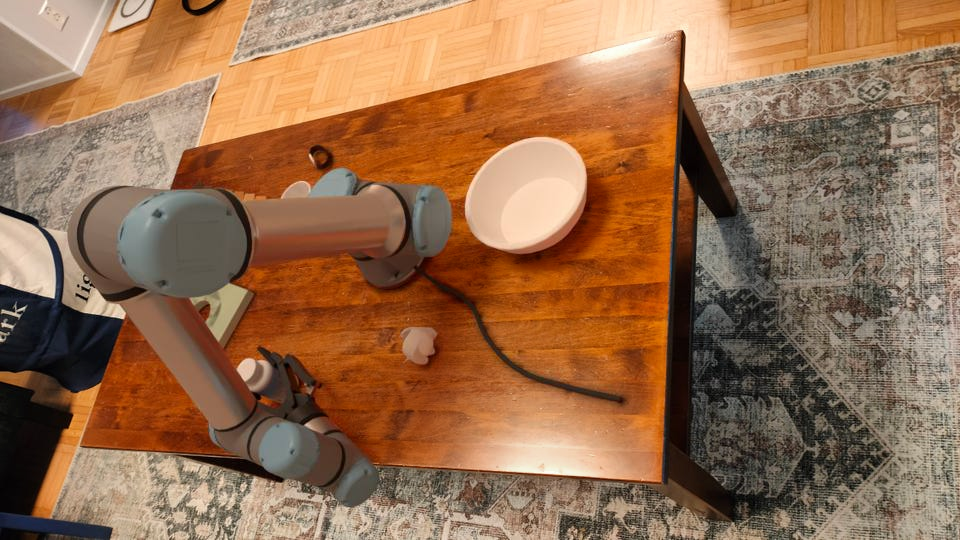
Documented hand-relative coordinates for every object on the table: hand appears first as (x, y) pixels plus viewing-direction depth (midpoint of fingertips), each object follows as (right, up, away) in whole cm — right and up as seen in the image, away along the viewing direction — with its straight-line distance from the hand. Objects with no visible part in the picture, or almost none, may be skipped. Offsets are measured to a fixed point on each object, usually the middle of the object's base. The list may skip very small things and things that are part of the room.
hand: (251, 364), depth 125 cm
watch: (+7, +44, +29) cm, 53 cm away
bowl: (+55, +28, -7) cm, 62 cm away
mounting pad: (-17, +7, +22) cm, 28 cm away
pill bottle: (+6, -5, +2) cm, 8 cm away
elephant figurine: (+34, +3, -9) cm, 36 cm away
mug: (+10, +27, +18) cm, 34 cm away
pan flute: (-17, +32, +37) cm, 52 cm away
